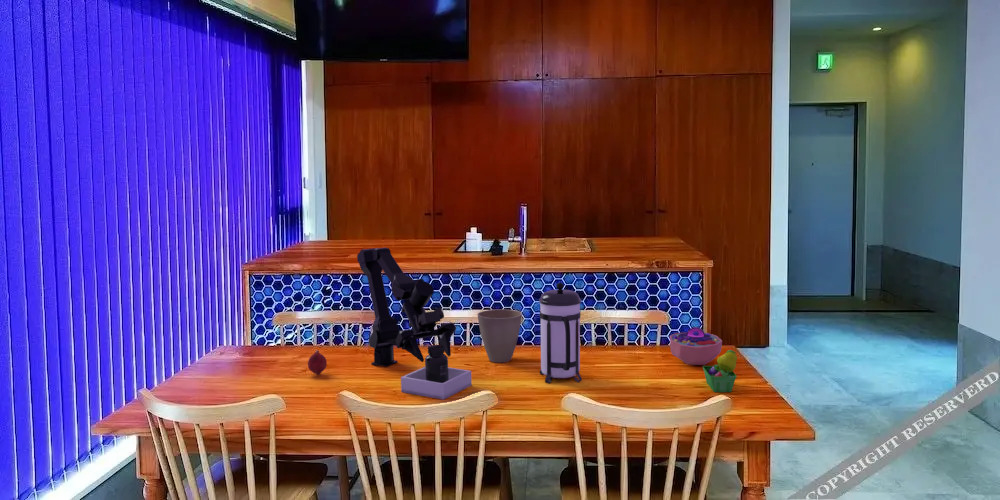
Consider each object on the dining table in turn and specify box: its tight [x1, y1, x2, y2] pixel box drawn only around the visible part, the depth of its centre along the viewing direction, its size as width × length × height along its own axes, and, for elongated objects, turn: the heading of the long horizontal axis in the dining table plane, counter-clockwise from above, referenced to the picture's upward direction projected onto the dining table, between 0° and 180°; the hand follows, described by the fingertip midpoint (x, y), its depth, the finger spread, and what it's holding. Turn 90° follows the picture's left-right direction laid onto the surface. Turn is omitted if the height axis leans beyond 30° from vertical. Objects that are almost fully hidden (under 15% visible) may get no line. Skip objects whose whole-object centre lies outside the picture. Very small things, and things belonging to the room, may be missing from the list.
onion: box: [307, 349, 328, 376], centre depth 244 cm, size 6×6×8 cm
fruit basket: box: [702, 349, 738, 393], centre depth 225 cm, size 11×9×11 cm
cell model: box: [669, 326, 723, 366], centre depth 251 cm, size 17×20×11 cm
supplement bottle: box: [424, 344, 449, 383], centre depth 228 cm, size 7×7×12 cm
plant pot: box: [477, 309, 523, 363], centre depth 258 cm, size 15×15×16 cm
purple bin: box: [400, 366, 472, 400], centre depth 228 cm, size 15×15×4 cm
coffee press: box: [538, 282, 583, 384], centre depth 234 cm, size 17×16×30 cm
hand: (436, 358), depth 227 cm, fingers open, 9 cm apart
